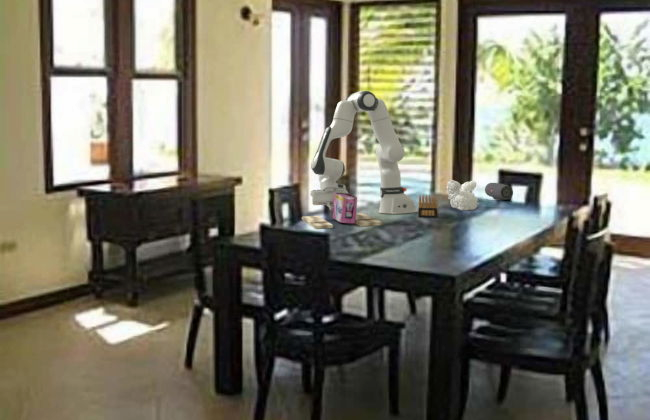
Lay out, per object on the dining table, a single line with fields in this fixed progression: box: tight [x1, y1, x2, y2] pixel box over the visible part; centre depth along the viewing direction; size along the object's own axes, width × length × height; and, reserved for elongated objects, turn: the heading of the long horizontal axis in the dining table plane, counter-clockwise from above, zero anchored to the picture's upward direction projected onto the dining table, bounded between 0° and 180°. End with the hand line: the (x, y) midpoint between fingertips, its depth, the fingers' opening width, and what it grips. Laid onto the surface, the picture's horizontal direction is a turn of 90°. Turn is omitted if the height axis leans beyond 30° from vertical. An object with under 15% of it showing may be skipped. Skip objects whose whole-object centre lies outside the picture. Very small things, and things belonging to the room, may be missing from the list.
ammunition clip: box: [417, 194, 439, 219], centre depth 475 cm, size 11×2×12 cm, turn 67°
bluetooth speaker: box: [484, 182, 514, 201], centre depth 547 cm, size 23×9×10 cm, turn 14°
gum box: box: [332, 193, 358, 225], centre depth 469 cm, size 24×8×14 cm, turn 11°
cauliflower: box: [446, 179, 480, 211], centre depth 508 cm, size 19×20×20 cm
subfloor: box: [301, 212, 383, 230], centre depth 468 cm, size 34×40×2 cm
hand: (332, 209), depth 478 cm, fingers closed
